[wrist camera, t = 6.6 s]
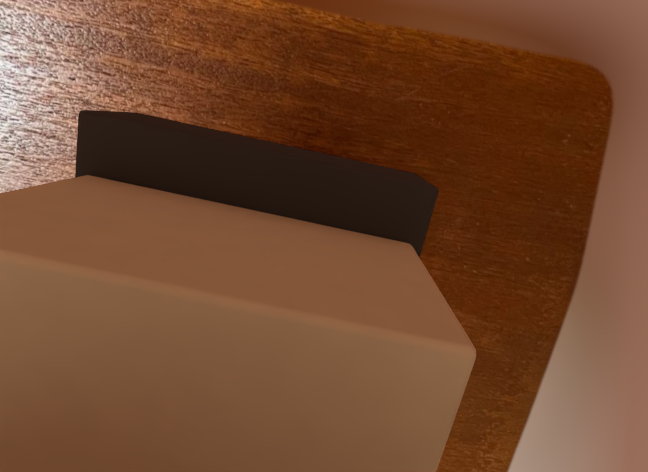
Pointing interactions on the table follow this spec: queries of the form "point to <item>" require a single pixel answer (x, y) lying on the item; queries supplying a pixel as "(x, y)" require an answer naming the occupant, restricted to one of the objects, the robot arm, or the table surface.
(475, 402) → the table surface
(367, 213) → the board eraser
